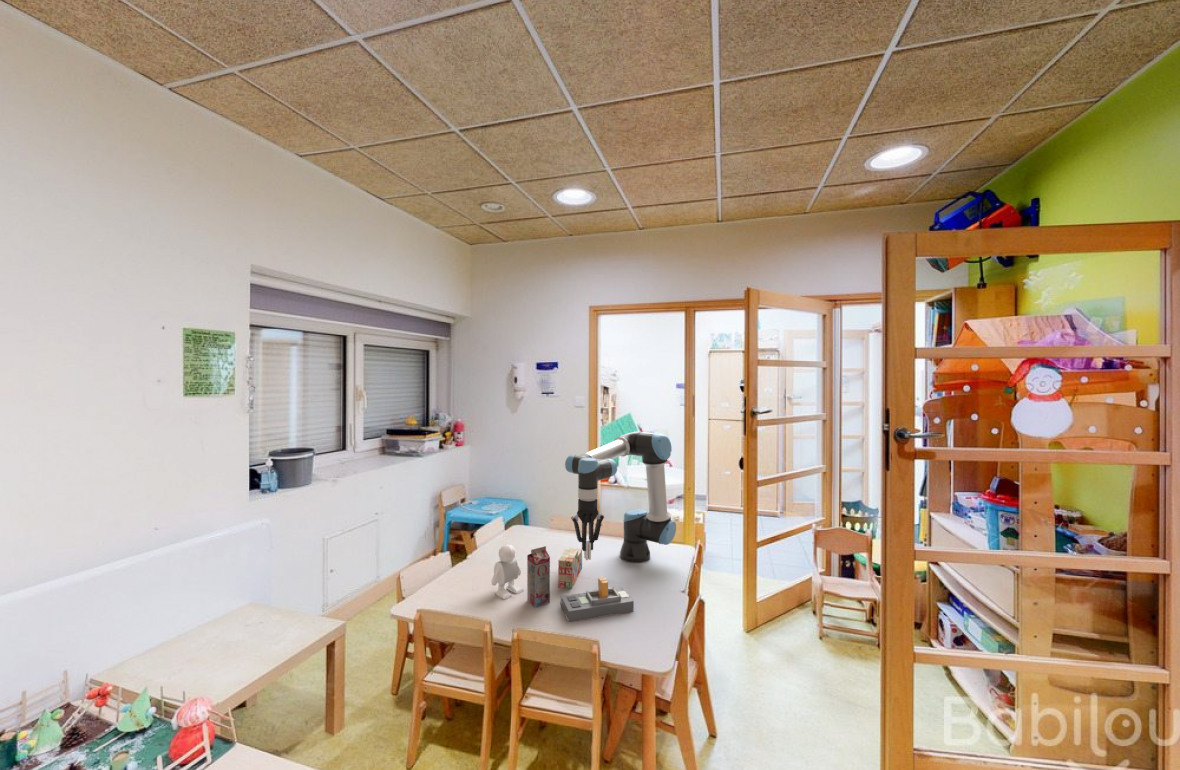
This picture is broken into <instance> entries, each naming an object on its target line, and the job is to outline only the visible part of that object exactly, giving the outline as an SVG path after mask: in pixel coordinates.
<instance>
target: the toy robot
mask: <svg viewBox="0 0 1180 770" xmlns="http://www.w3.org/2000/svg"><path fill="white" fill-rule="evenodd" d="M498 557H499V561H497V562H495V564H494V568H493V577H492V579H491V585H492V586H494V587H495V586H497V584H498V588H497V590H496V591H494V595H496V596H498V597H499V598H501V600H506V599H508V598H510V597H512V596H511V593H510V592H512V593H514V594H516V595H517V594H520V593H522V592H524V588H522V587H519V585H516V584H515V580H517V579H518V578H519V576H521V574H522V570H521V568H520V567H519V565H518V561H517V560H516V549H515V547H514V546H513V545H511V544H508V543H506V544H504V545H502V546H501V547H500V548H499V550H498ZM507 583H508V585H507V586H506V584H507ZM505 586H506V589H507V590H506V589H505ZM509 591H510V592H509Z"/></svg>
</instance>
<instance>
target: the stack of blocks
mask: <svg viewBox="0 0 1180 770" xmlns="http://www.w3.org/2000/svg"><path fill="white" fill-rule="evenodd" d="M557 564H558V569H557V572H558V580H557V583H558V584H557V585H558V586H557V587H558V588H559V589H571V590H572V589H573V588H574V586H575V584H576V581H577V580H578V577H579V575H580V573H581V571H582V568H583V550H582V548H574V547H573V548H572V547H569V548H567V549H566V548H565V549H564V550H563V552H562V554H561V555H560V557H559V559H558V563H557Z"/></svg>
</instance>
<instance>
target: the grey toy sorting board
mask: <svg viewBox="0 0 1180 770" xmlns="http://www.w3.org/2000/svg"><path fill="white" fill-rule="evenodd" d="M560 597H561V598H560V601H561V603H560V605H561V608H562V610H563V612H564V615H565V617H566V619H567V621H568V623H571V622H576V621H582V620H588V619H595V618H600V617H606V616H613V615H614V616H615V615H618V614H626V613H631V612H634V607H635V605H634V602H635V601H634V600H633V598H632V597H631V596H630V595H629V594H628V592H627V591H626V590H625V588H624V587H608V597H605V598H600V597H599V595H598V589H592V590H586V591H585V592H579V593H573V594H566V595H561V596H560Z"/></svg>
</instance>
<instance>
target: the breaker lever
mask: <svg viewBox="0 0 1180 770" xmlns="http://www.w3.org/2000/svg"><path fill="white" fill-rule="evenodd" d="M597 579H598V581H597V587H598V588H597V590H598V595H599V597H600V598H605V597H608V588H609V582H608V580H607V578H606V577H605V576H599V577H598V578H597Z"/></svg>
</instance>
